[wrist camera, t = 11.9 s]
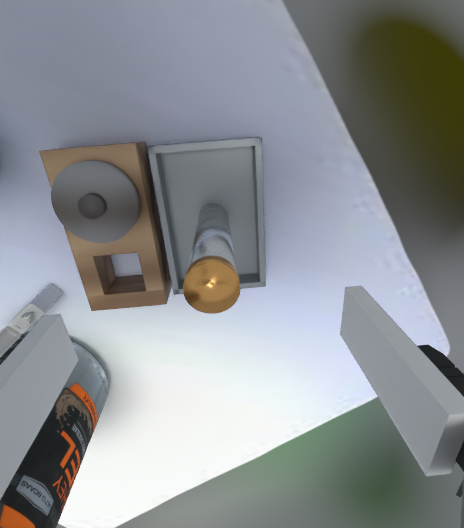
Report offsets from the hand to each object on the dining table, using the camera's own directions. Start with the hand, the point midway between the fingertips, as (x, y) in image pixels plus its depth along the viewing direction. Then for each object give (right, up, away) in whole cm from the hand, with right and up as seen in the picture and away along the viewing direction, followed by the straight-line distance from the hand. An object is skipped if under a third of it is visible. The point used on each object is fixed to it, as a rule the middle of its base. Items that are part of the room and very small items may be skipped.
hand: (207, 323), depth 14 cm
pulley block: (-11, +7, +18) cm, 22 cm away
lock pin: (-1, +8, +17) cm, 19 cm away
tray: (-1, +8, +18) cm, 20 cm away
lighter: (-22, -2, +22) cm, 31 cm away
